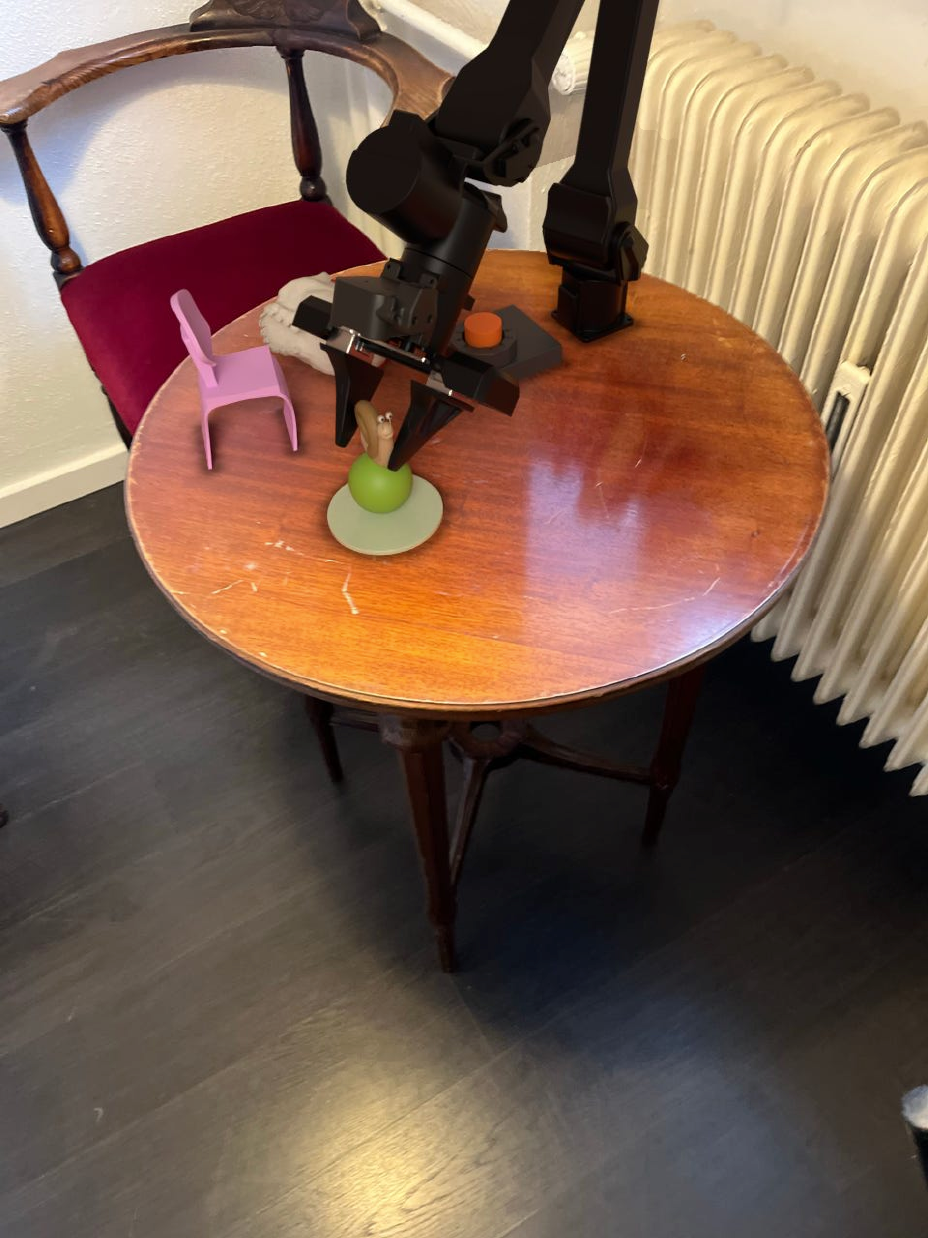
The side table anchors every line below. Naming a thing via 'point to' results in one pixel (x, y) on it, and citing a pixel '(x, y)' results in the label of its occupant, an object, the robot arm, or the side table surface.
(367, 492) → the snail figurine
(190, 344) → the toy chair
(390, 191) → the robot arm
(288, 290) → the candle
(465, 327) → the button
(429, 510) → the coaster
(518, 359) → the button block
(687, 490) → the side table surface
